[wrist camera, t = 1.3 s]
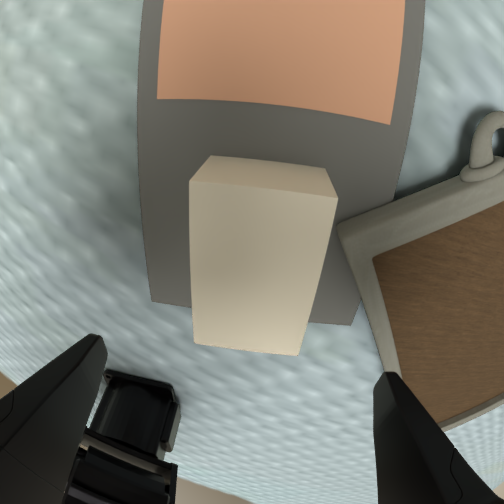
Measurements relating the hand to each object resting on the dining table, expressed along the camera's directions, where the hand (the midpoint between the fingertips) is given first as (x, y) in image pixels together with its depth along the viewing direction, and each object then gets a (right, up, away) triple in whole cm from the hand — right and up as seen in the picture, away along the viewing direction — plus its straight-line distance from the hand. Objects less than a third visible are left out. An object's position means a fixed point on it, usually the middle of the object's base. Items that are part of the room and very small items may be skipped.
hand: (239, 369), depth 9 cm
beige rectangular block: (+1, +4, +6) cm, 8 cm away
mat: (+1, +9, +4) cm, 10 cm away
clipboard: (+18, -1, +8) cm, 20 cm away
